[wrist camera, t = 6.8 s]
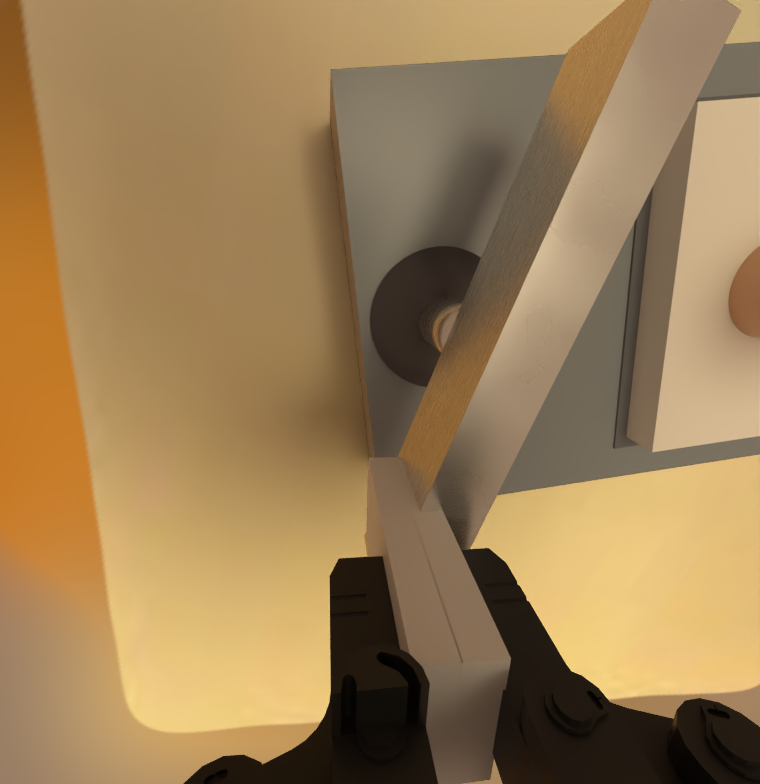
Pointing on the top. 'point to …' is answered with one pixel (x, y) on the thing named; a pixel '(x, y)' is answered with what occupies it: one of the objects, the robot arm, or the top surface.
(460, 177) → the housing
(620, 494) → the top surface
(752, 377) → the cover
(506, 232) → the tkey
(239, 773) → the robot arm
